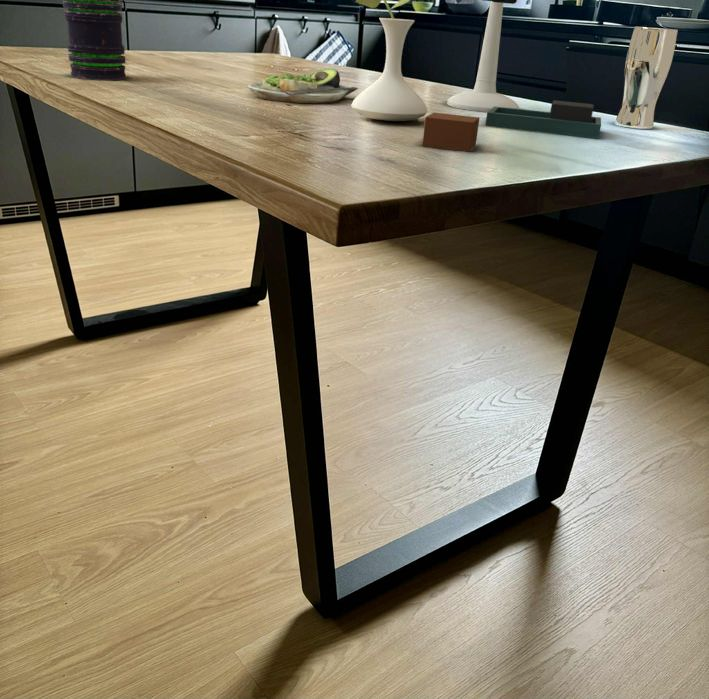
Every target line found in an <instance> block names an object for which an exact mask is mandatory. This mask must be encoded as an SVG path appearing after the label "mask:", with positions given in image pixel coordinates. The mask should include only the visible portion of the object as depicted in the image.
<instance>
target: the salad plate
mask: <svg viewBox="0 0 709 699" xmlns="http://www.w3.org/2000/svg"><path fill="white" fill-rule="evenodd" d="M247 88H248V90H249V91H250V92H251V93H253V95H255V96H256V97H257V98H259V99H263V100H268V101H276V102H286V103H297V104H327V103H328V104H329V103H335V102H337V101H341V100H343V99H344V98H345V97H347V96H348V95H350V94H352V93H353V92H356V91H357V90H359V87H355V86H351V87H350V86H349V87H348V86H346V85H341V76H340V73H339V71H338V69H336V68H325V69H320V70H317V71H314V72H313V73H311V74H309V75H308V74H307V75H306V74H302V75H297V74H291V73H288V72H286V73H284V74H280V75H279V74H274V75H273V74H272V75H271V76H269V77H266V78H264V79H263V80H259V81H257V82H255V83H251V84H248V85H247Z"/></svg>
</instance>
